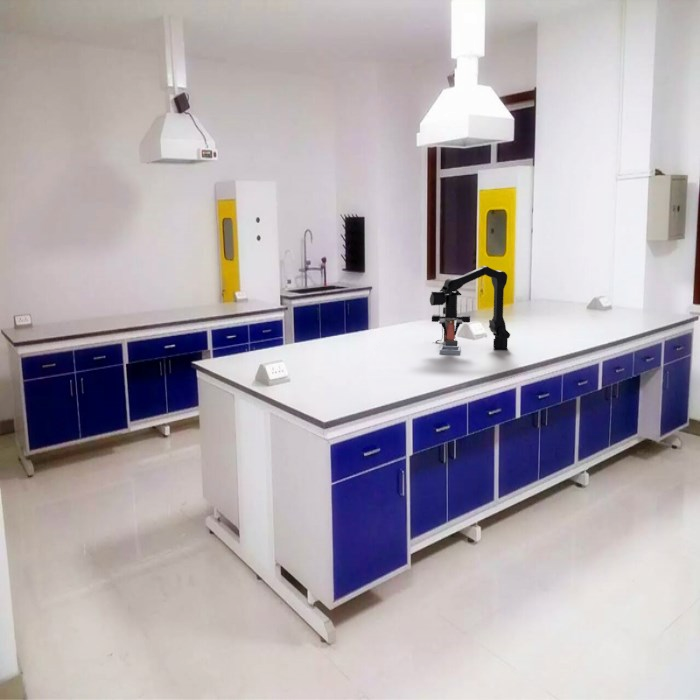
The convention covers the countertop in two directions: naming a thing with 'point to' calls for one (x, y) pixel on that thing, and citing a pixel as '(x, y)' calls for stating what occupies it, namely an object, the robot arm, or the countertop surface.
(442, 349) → the tray
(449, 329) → the red rounded cylinder
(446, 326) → the multimeter
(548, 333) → the countertop surface
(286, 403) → the countertop surface
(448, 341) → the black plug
